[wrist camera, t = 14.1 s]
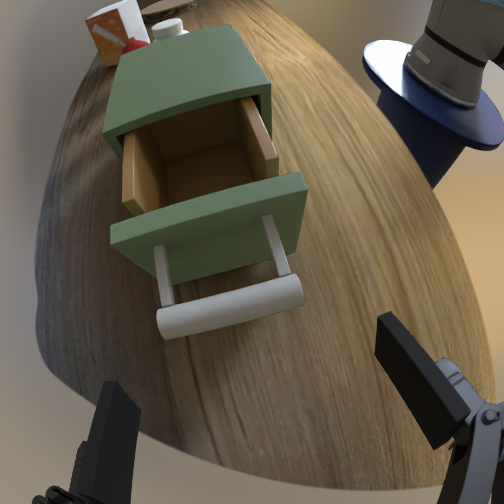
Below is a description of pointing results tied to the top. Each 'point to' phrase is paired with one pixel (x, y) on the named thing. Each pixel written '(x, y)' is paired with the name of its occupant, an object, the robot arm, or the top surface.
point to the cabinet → (183, 81)
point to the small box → (116, 29)
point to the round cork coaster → (167, 9)
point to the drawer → (210, 213)
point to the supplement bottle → (168, 29)
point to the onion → (133, 45)
